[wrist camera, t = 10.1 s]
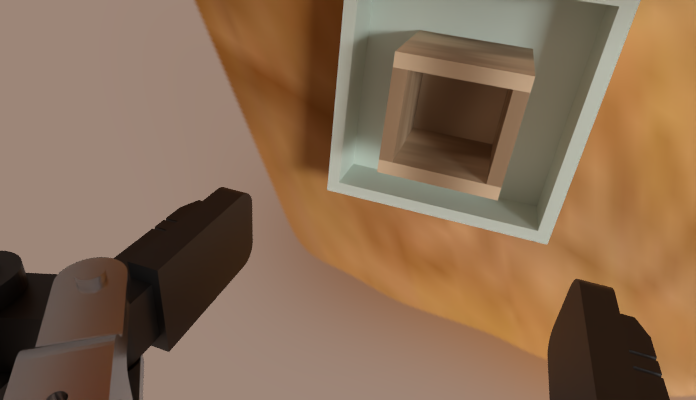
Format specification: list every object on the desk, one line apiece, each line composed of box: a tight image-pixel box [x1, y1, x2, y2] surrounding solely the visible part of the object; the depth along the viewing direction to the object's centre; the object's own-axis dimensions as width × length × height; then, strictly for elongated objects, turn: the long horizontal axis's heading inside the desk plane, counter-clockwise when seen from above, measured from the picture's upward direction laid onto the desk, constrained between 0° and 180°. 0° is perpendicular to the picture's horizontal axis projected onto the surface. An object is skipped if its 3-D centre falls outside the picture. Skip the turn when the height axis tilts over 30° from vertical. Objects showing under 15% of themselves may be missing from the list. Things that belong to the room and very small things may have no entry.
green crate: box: [327, 0, 640, 244], centre depth 26 cm, size 13×13×4 cm
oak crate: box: [377, 30, 535, 201], centre depth 24 cm, size 6×6×6 cm
